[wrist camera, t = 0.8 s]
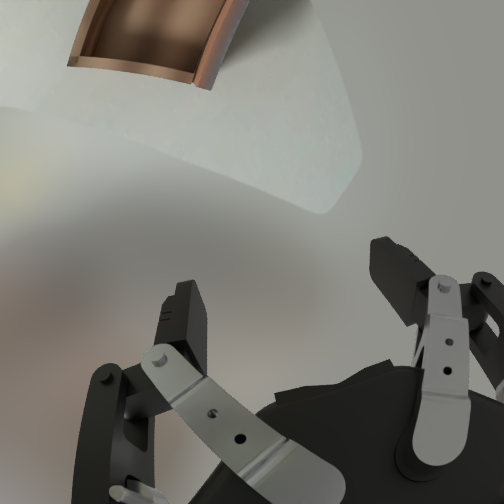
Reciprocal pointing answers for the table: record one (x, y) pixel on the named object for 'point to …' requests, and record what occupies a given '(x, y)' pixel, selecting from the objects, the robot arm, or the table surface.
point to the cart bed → (144, 36)
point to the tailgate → (219, 43)
